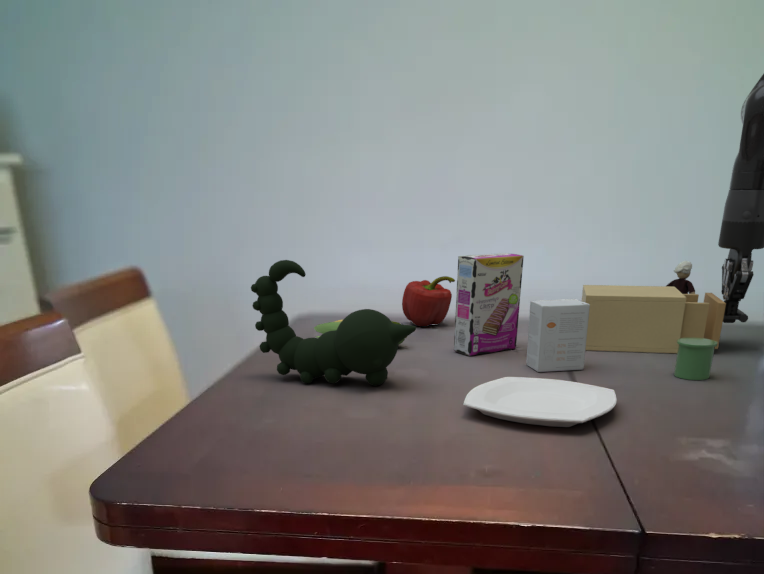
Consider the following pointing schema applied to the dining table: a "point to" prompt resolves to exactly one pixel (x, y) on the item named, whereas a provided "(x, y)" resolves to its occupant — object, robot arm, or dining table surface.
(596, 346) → the cabinet
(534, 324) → the small box
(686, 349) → the pot
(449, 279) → the vegetable
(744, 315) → the drawer
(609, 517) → the dining table surface
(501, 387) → the plate
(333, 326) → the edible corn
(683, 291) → the grandmother figurine
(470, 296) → the candy bar box
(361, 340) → the toy figurine
